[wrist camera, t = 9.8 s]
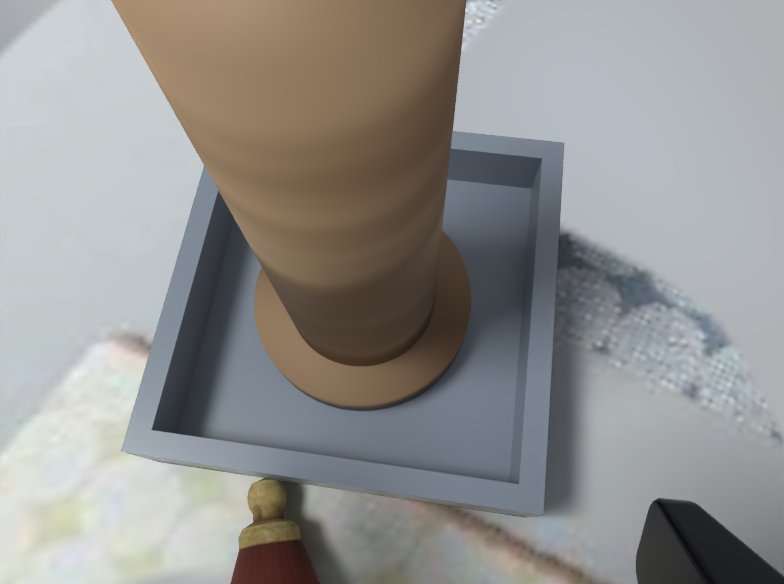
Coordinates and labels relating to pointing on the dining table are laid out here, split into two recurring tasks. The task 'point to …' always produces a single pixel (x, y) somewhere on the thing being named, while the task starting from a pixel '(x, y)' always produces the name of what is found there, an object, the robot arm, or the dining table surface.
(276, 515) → the gavel
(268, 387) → the box
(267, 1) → the walnut handle
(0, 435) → the dining table surface
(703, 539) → the robot arm
